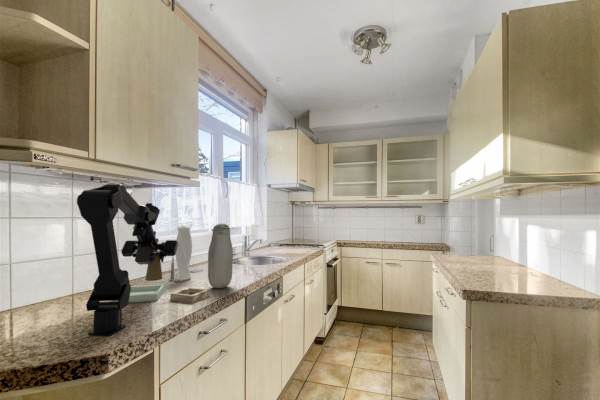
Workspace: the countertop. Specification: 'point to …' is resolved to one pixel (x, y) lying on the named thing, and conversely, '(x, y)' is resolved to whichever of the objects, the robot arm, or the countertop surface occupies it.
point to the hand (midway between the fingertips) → (155, 261)
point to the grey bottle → (220, 257)
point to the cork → (154, 270)
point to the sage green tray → (145, 293)
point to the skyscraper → (182, 254)
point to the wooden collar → (189, 295)
